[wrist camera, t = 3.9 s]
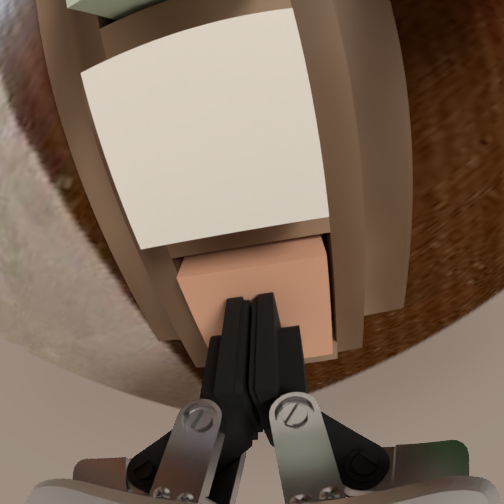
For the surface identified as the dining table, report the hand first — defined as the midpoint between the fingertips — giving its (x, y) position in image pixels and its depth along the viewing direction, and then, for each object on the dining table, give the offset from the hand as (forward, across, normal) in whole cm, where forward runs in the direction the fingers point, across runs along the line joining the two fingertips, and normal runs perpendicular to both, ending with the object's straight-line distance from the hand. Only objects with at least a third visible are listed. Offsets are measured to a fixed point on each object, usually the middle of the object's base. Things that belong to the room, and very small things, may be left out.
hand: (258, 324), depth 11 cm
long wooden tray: (+4, 0, -7) cm, 8 cm away
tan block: (+3, 0, 0) cm, 3 cm away
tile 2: (+2, 0, -7) cm, 7 cm away
